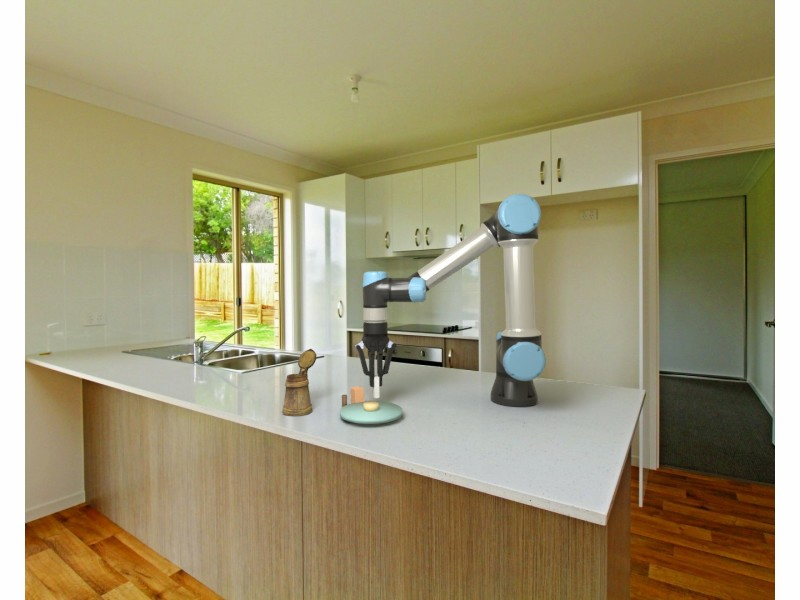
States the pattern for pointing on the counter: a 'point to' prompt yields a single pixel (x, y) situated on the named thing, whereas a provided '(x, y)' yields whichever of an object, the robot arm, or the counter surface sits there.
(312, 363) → the wooden mug
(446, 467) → the counter surface
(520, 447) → the counter surface
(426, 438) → the counter surface
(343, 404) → the dowel
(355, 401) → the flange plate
